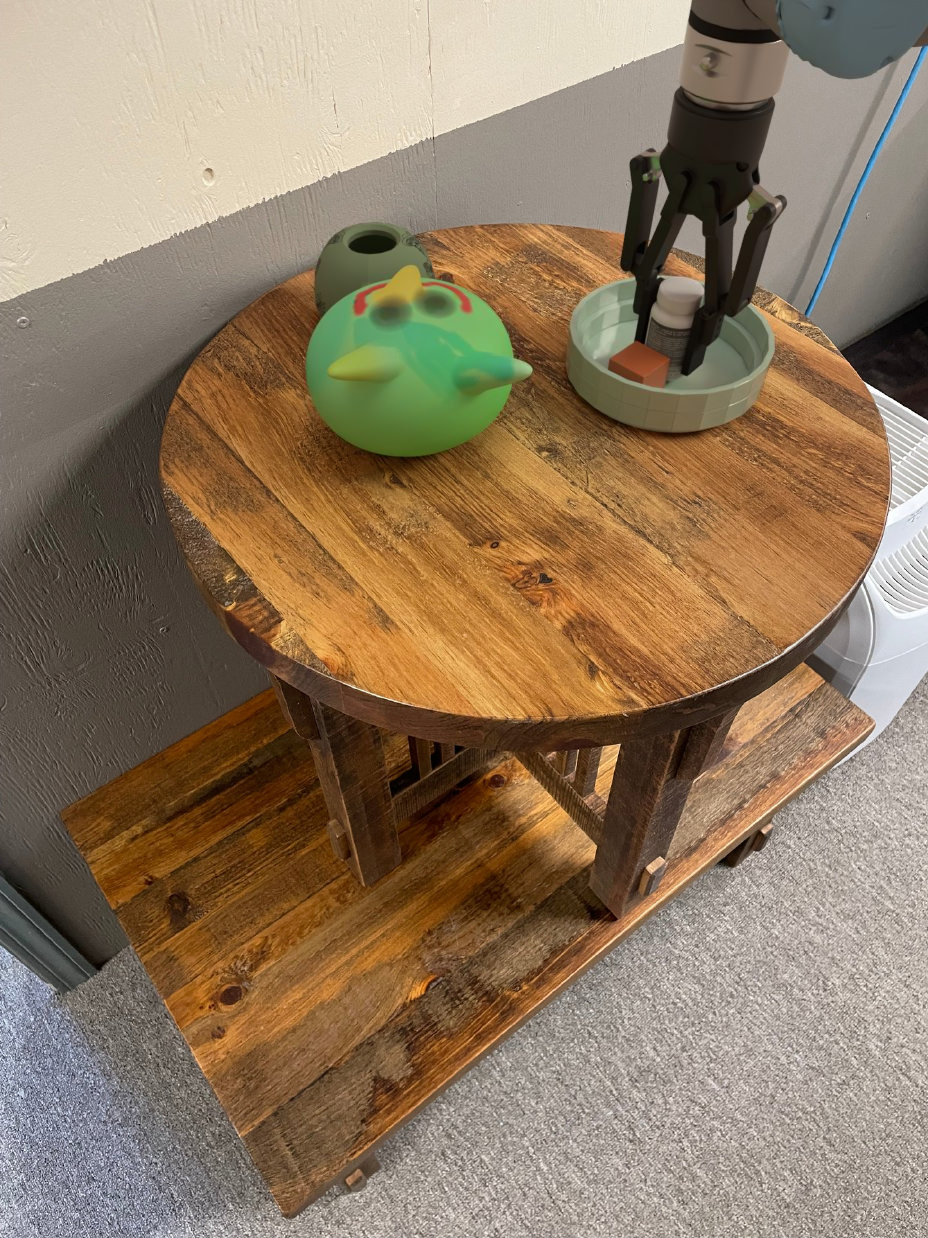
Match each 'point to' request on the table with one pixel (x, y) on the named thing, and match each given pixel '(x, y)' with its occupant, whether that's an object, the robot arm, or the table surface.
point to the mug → (365, 260)
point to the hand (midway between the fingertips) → (667, 356)
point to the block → (640, 365)
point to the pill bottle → (673, 320)
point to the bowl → (682, 403)
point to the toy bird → (410, 366)
